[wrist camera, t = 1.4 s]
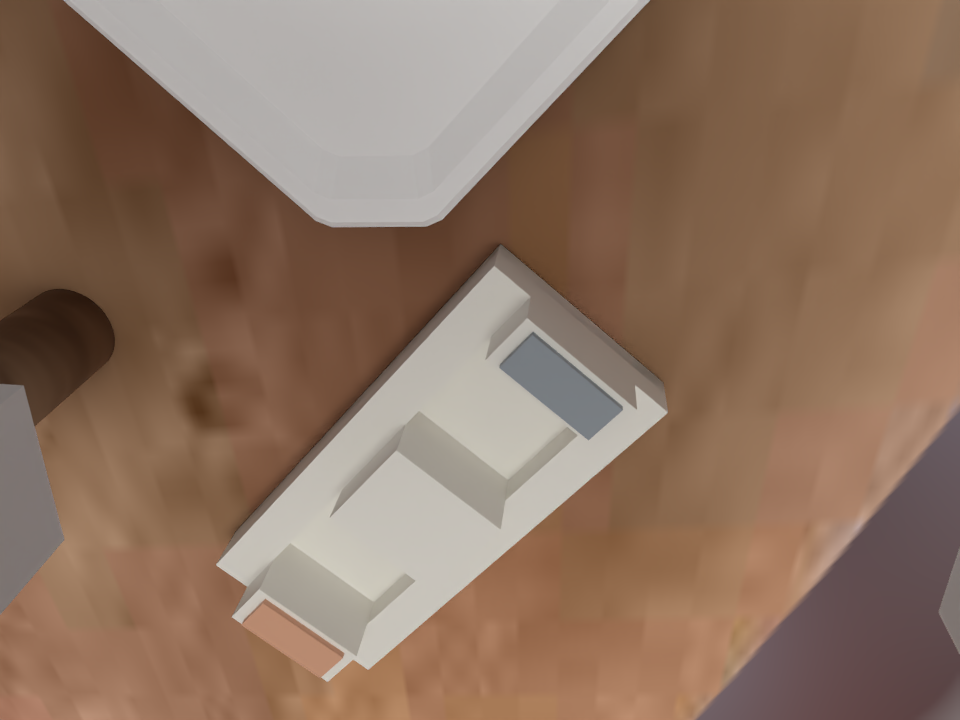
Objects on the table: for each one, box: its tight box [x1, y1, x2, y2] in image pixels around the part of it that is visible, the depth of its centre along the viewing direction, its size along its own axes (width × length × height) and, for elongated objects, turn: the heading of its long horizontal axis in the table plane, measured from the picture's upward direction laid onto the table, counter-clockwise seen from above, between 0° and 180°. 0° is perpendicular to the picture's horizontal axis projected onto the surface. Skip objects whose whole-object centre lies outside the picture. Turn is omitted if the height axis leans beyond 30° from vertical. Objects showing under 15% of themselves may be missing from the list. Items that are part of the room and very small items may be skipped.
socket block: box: [216, 244, 668, 682], centre depth 37 cm, size 9×20×5 cm, turn 140°
